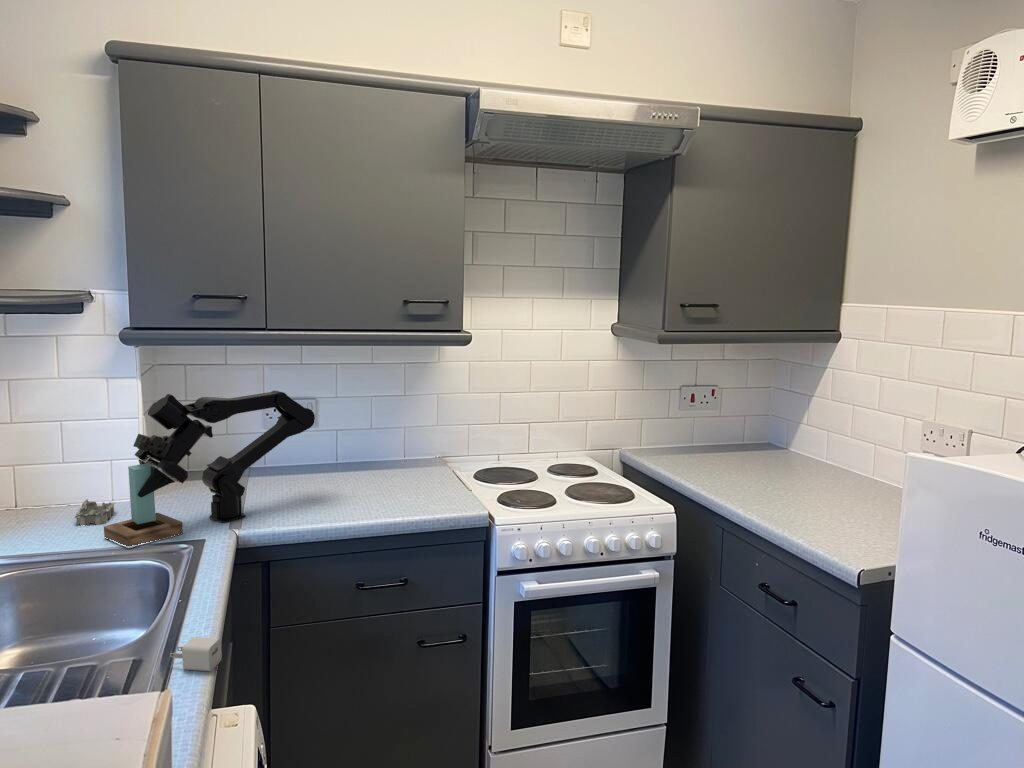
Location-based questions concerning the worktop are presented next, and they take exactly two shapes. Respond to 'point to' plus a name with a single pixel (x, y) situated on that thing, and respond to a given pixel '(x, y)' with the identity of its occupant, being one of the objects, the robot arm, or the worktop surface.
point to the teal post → (140, 506)
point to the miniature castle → (94, 513)
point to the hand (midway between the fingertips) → (135, 494)
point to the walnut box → (143, 530)
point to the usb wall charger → (200, 654)
